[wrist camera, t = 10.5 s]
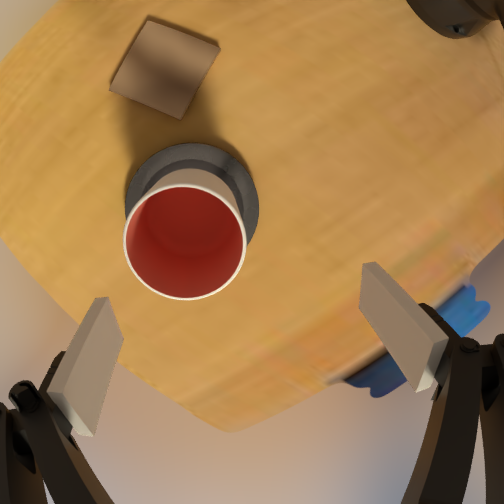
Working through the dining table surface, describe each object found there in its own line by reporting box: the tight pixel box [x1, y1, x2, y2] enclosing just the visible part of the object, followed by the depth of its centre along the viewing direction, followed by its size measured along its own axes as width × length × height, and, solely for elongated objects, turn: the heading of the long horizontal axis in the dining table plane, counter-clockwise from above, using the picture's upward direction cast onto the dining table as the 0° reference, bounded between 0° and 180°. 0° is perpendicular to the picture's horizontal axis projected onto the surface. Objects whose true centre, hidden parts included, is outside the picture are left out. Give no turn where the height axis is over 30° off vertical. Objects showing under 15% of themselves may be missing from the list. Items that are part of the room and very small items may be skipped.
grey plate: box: [125, 143, 259, 247], centre depth 34 cm, size 15×15×2 cm
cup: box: [123, 168, 247, 300], centre depth 28 cm, size 10×10×10 cm
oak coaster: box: [109, 20, 221, 120], centre depth 27 cm, size 9×9×1 cm
